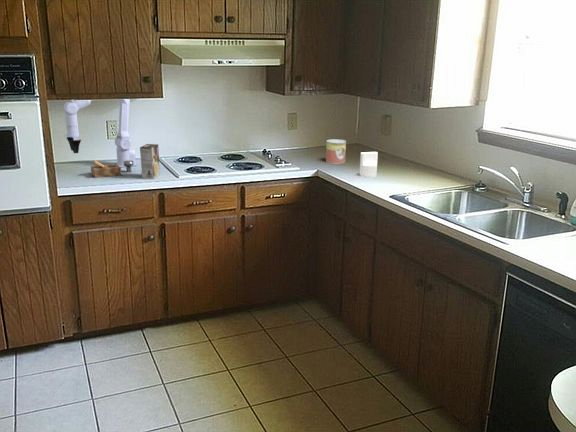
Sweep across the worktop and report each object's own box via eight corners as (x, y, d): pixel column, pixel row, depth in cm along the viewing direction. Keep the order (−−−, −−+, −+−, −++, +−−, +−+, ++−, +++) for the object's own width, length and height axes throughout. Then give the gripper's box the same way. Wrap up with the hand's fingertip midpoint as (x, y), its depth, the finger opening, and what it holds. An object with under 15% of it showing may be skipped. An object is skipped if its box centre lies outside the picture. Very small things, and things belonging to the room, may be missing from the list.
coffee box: (148, 174, 309) (146, 143, 304) (160, 174, 308) (158, 144, 303) (141, 178, 300) (139, 147, 295) (153, 179, 299) (151, 147, 294)
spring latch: (102, 165, 306) (102, 164, 306) (103, 167, 303) (104, 166, 303) (93, 161, 304) (93, 159, 304) (94, 162, 300) (95, 161, 300)
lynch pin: (132, 170, 316) (131, 160, 315) (135, 172, 312) (134, 161, 310) (123, 171, 314) (122, 160, 312) (125, 173, 310) (124, 162, 308)
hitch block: (116, 171, 314) (116, 163, 313) (121, 175, 305) (120, 167, 304) (91, 173, 308) (90, 166, 307) (95, 177, 300) (94, 170, 298)
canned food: (332, 164, 337) (333, 143, 334) (321, 160, 347) (322, 140, 343) (349, 162, 343) (350, 141, 339) (337, 158, 352) (338, 138, 348)
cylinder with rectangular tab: (363, 177, 309) (364, 154, 306) (356, 173, 317) (358, 151, 314) (379, 176, 312) (380, 154, 308) (372, 172, 320) (373, 150, 316)
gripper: (61, 124, 311) (64, 149, 315) (66, 128, 299) (69, 155, 303) (75, 123, 314) (78, 148, 319) (80, 127, 302) (83, 153, 307)
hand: (74, 151), depth 311 cm, fingers open, 7 cm apart
